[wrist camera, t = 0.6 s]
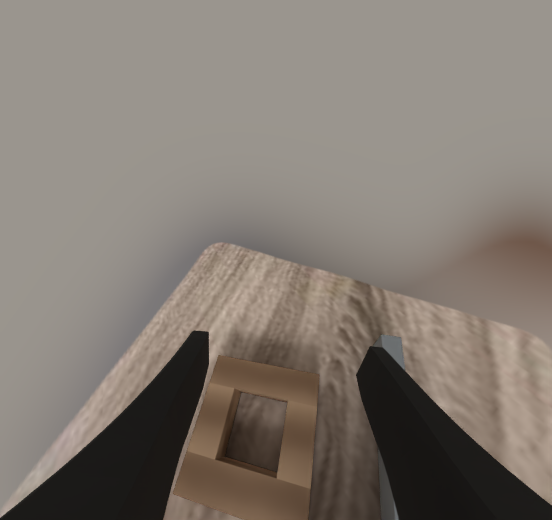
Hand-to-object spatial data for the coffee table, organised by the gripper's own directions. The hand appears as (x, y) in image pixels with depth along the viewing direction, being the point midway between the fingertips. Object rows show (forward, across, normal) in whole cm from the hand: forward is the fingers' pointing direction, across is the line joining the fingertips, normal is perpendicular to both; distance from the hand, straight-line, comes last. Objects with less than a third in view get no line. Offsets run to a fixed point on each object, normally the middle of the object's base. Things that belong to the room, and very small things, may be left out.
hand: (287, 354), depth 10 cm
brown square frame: (+6, 0, +20) cm, 21 cm away
